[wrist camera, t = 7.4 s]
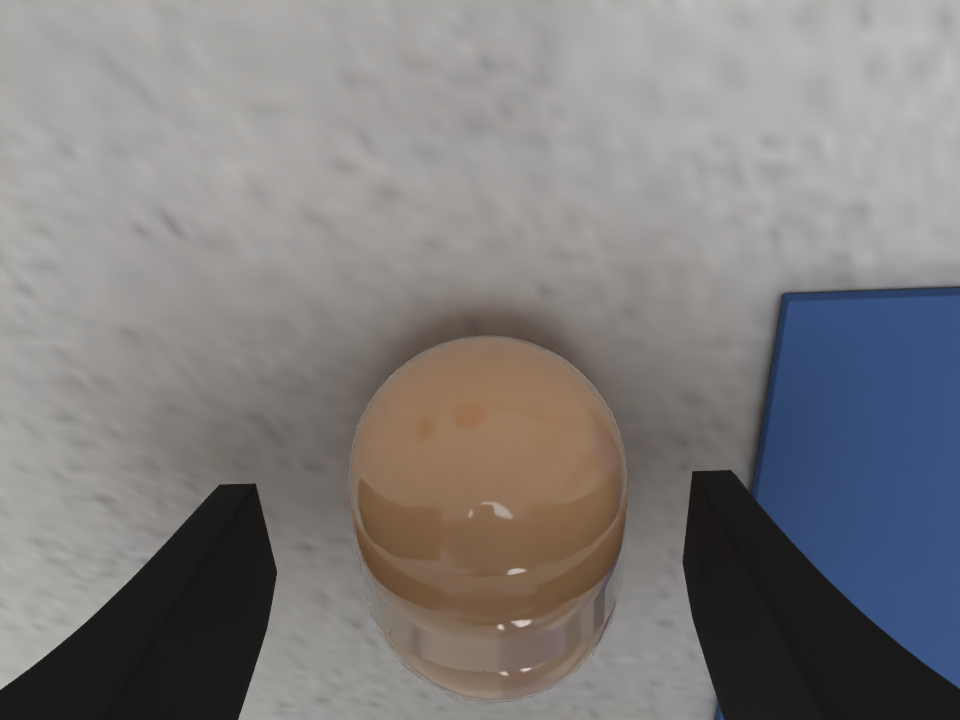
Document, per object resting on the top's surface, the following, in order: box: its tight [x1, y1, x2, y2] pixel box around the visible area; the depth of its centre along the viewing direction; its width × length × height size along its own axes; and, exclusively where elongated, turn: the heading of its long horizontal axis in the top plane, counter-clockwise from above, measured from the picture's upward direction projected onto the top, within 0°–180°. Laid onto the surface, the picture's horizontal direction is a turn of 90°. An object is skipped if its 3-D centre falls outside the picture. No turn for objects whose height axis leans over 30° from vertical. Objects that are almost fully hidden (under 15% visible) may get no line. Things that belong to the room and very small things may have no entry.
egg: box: [348, 335, 628, 703], centre depth 14 cm, size 6×4×4 cm
